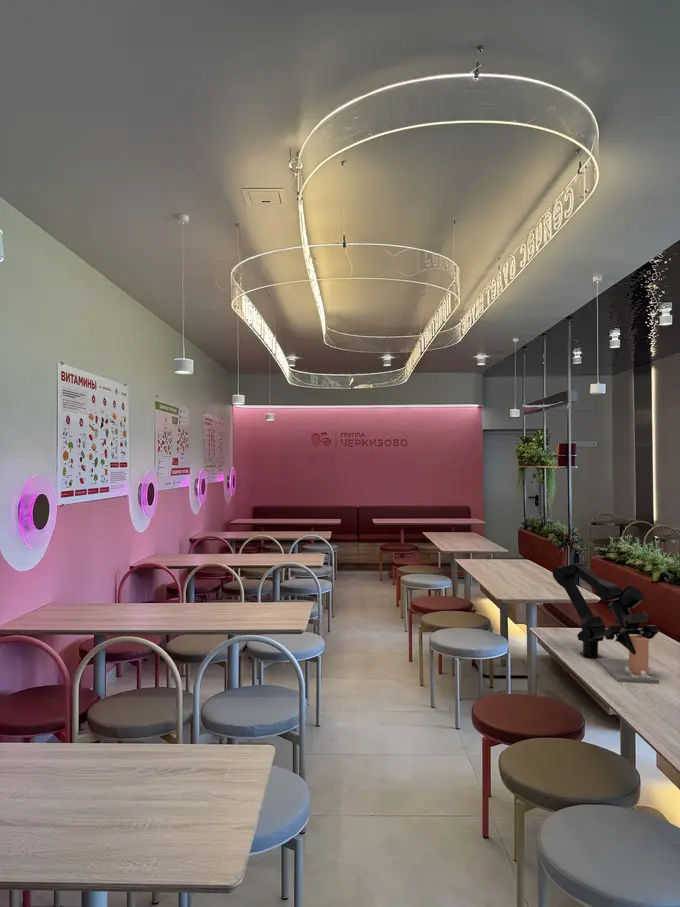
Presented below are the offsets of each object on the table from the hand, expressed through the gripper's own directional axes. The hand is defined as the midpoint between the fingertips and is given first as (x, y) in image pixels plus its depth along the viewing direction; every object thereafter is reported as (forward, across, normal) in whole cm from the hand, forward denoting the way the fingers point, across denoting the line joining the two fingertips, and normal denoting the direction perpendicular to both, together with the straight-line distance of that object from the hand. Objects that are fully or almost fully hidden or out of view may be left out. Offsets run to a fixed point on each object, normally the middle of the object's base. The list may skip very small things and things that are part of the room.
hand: (641, 653), depth 216 cm
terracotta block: (+4, 0, +6) cm, 7 cm away
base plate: (+1, -1, +12) cm, 12 cm away
